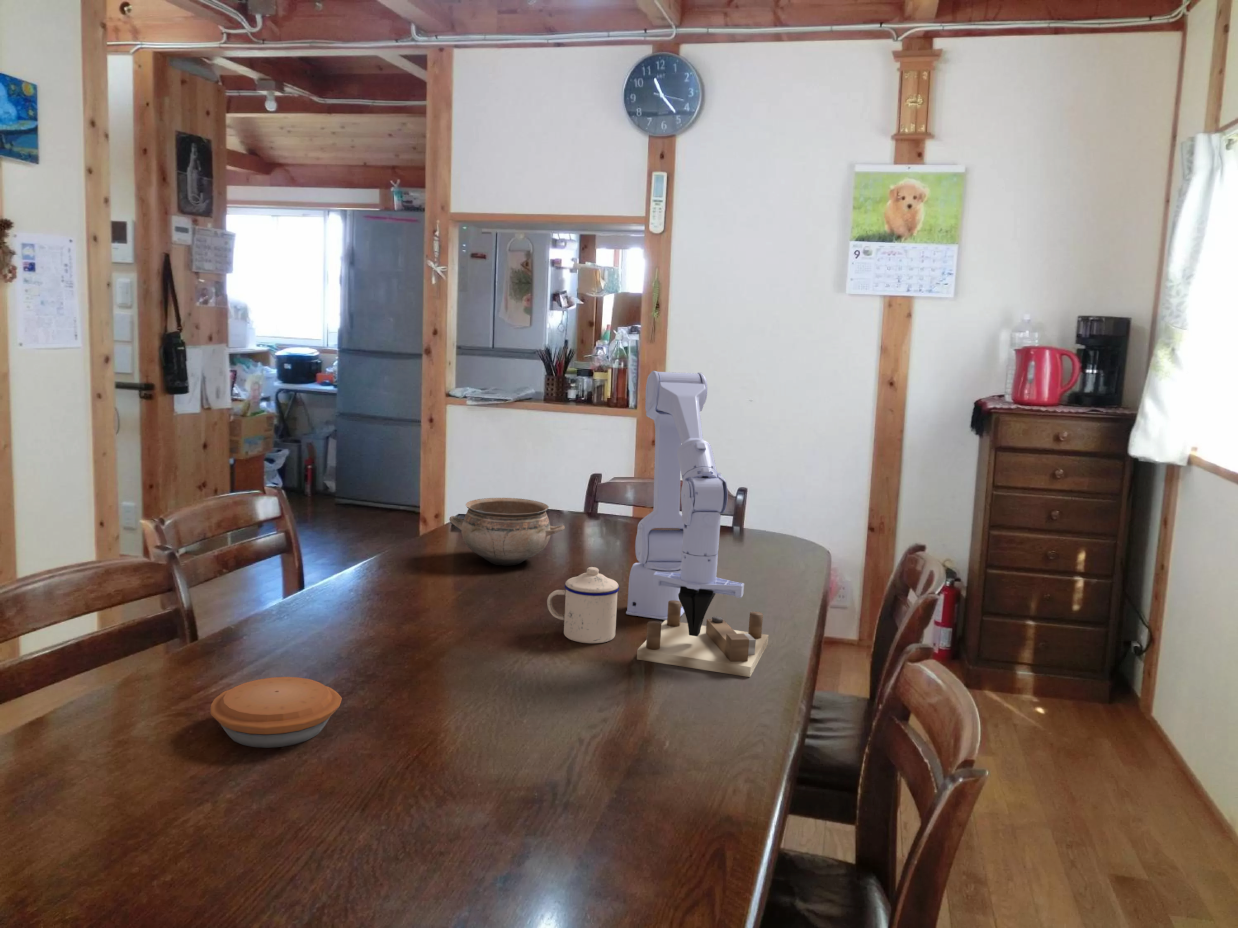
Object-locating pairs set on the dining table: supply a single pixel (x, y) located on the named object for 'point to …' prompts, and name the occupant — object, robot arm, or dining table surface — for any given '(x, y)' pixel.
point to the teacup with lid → (588, 607)
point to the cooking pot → (506, 529)
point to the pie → (275, 711)
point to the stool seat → (699, 645)
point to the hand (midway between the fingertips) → (694, 633)
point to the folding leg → (728, 639)
